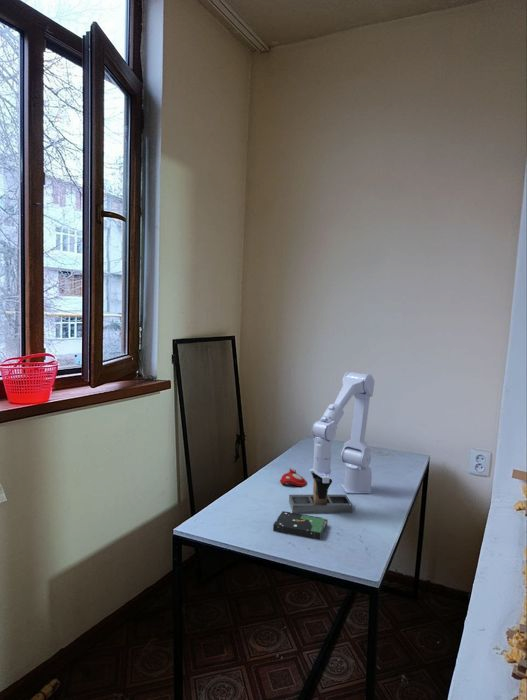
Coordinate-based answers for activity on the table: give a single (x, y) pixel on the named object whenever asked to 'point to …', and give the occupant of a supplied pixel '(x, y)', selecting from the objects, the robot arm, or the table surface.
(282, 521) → the disk drive
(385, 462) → the table surface
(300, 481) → the tracker holder
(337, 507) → the rail
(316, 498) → the walnut peg
